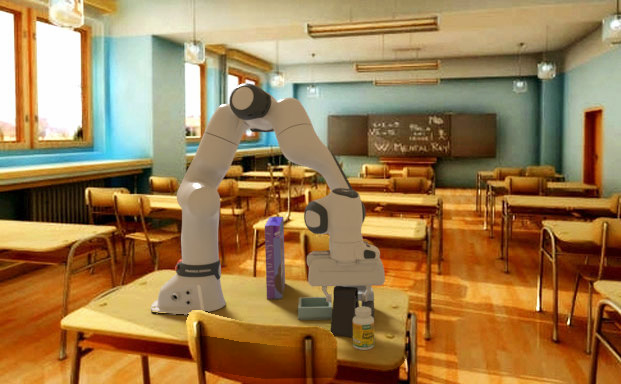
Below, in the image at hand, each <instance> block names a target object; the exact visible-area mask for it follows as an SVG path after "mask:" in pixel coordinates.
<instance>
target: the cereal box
mask: <svg viewBox="0 0 621 384" xmlns="http://www.w3.org/2000/svg"><path fill="white" fill-rule="evenodd" d="M284 224H285V223H284V216H269V217H268V220H267V221H266V223H265V224H264V247H265V279H266V282H265V283H266V285H265V287H266V300H282V299H283V295H284V292H285V291H284V290H285V285H286V272H285V271H286V269H285V268H286V267H285V265H286V264H285V263H286V261H285V235H284V234H285V227H284Z"/></svg>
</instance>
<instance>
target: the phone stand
mask: <svg viewBox="0 0 621 384" xmlns="http://www.w3.org/2000/svg"><path fill="white" fill-rule="evenodd" d="M332 294H333V298H332V299H333V300H332V319H330V320H331V321H330V330H329V332H330V331H331V332H332V333H333V334H334V335H333V336H339V337H346V338H353V318H354V317H355V316H356V315H355V308H357V307H360V301H358V288H356V287H346V286H333V293H332Z"/></svg>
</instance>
